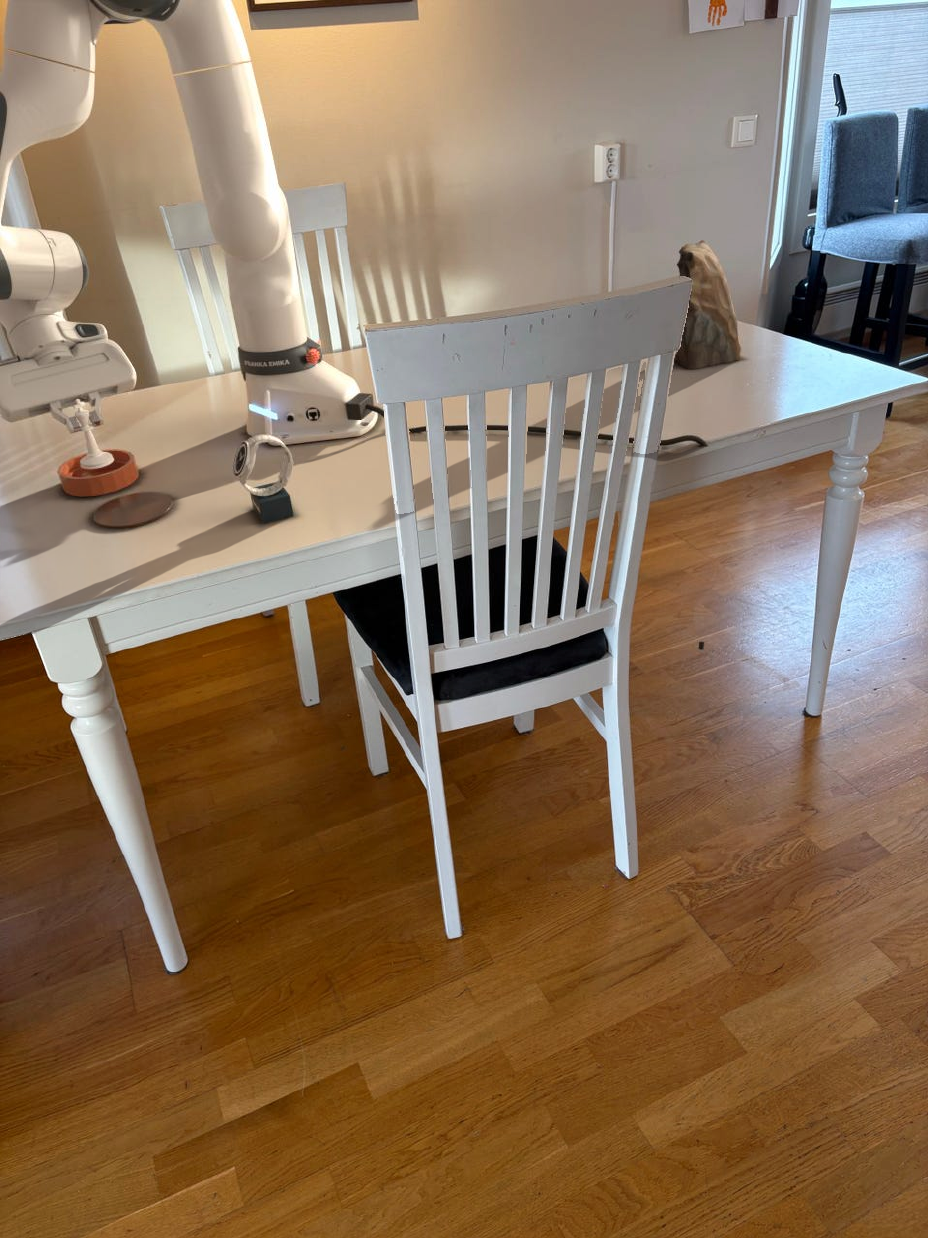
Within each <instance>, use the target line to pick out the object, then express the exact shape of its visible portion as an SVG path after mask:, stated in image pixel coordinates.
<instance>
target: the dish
mask: <svg viewBox="0 0 928 1238" xmlns="http://www.w3.org/2000/svg"><path fill="white" fill-rule="evenodd" d="M101 450H102V452H108V453H110V454H112V456H113V458H114V461H113V462H112V463H111V464H109V465H107V466H105V467H102V468H97V469H84V468H82V467H81V464H80V460H81V459H82V458H83V457H85V456H87V455H86V454H87V453H88V452H86V453H81V454H78V455H76V456H74V457H71V458H69V459H68V460H66V461H64V462H62V463H61V464H60V465H59V466H58V468H57V472H56V473H57V475H58V479H59V481H60V485H61V489H62V490H63V491H64V493H65V494H68V495H70V496H73V497H94V496H96V497H97V496H101V495H106V494H110V493H111V494H112V493H113V492H117V491H119V490H122V489H124V488H126V487H128V486H130V485H132V484H133V483H134V482H135V481H136V480H137V479H138V478H139V474H140V473H139V468H138V466H137V461H136V457H135V454H133V453H132V452H131V451H128V450H126V449H117V448H113V449H110V448H109V449H101Z"/></svg>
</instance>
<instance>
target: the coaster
mask: <svg viewBox="0 0 928 1238" xmlns="http://www.w3.org/2000/svg"><path fill="white" fill-rule="evenodd" d="M173 506H174V505H173V500H172V498H171V497H170V496H168V495H167V494H164V493H161V492H152V491H149V492H147V491H146V492H145V491H144V492H137V493H131V494H126V495H122V496H119V497H117V498H113V499H111V500H109V501H107V502H105V503H104V504H102V505H100V506H98V507H97V509H96V510H95V511H94V513H93V516H92V517H93V521H94V523H95V524H96V525H98V526H99V527H102V528H106V529H120V530H121V529H131V528H137V527H140V526H143V525H147V524H150V523H152V522H155V521H157V520H159V519H161V518H162V517H164V516H165V515H167V514H168V513H169V512H170V511H171V510H172V508H173Z"/></svg>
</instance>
